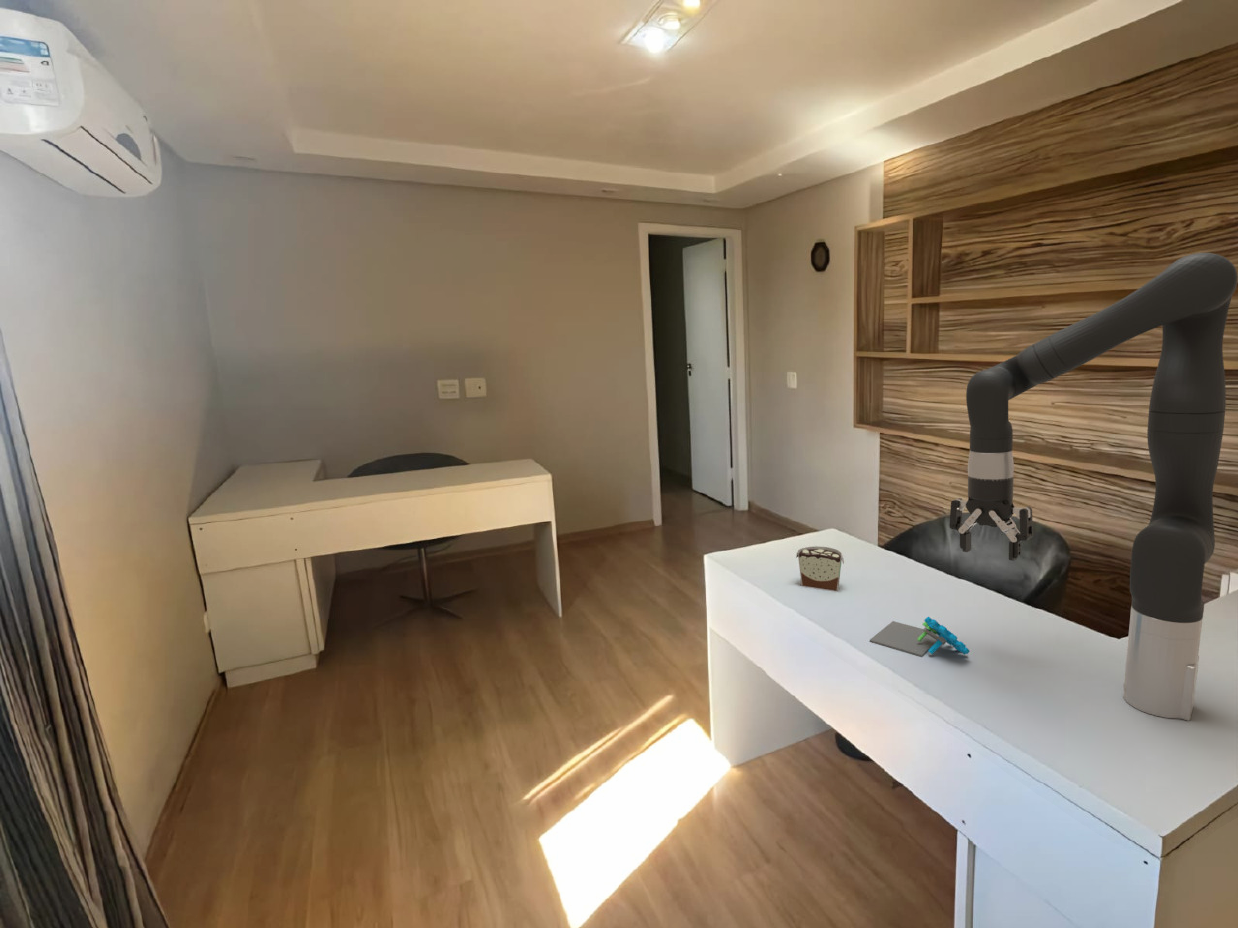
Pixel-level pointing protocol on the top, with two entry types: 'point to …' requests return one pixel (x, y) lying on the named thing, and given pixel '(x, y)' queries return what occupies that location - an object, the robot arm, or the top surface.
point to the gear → (941, 636)
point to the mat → (904, 638)
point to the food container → (820, 567)
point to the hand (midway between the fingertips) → (989, 555)
